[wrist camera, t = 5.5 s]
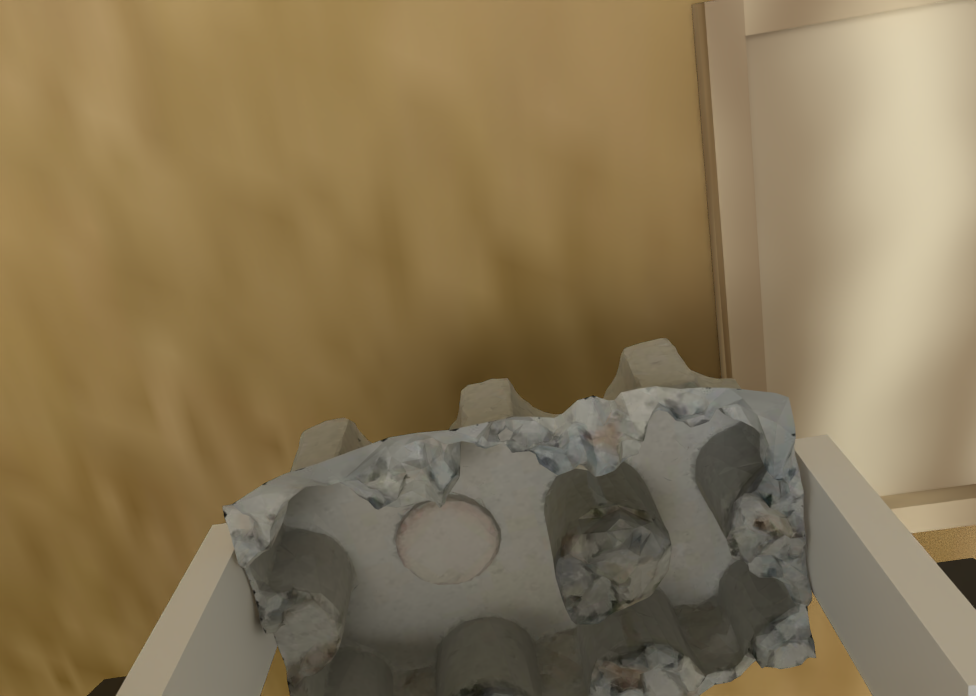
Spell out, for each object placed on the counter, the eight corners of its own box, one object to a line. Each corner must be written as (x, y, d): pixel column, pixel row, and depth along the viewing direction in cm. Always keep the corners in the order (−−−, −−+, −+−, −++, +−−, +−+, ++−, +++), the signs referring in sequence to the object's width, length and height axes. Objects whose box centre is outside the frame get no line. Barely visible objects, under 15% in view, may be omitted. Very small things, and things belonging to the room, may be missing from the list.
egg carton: (329, 687, 20) (299, 840, 16) (237, 405, 18) (176, 508, 14) (773, 608, 20) (848, 746, 16) (746, 308, 17) (829, 387, 13)
